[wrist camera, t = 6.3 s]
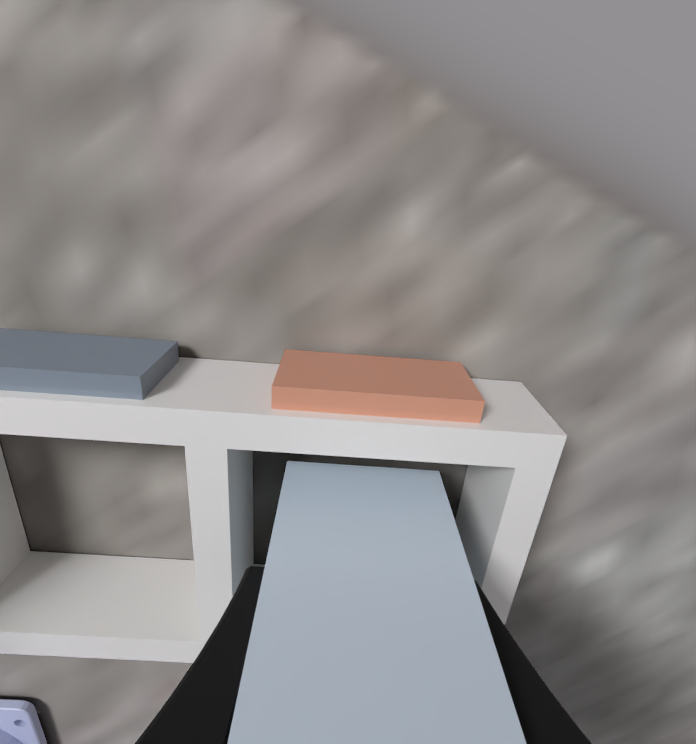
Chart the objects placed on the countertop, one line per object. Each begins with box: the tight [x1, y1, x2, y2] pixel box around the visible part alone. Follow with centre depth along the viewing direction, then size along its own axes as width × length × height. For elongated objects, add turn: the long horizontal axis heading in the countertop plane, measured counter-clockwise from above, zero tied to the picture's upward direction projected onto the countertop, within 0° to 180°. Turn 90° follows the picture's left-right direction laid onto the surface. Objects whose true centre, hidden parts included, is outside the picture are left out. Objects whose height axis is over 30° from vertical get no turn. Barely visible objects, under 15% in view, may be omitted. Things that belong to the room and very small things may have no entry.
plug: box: [227, 461, 526, 744], centre depth 10 cm, size 4×4×8 cm
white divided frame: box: [0, 328, 567, 663], centre depth 13 cm, size 10×17×3 cm, turn 85°
